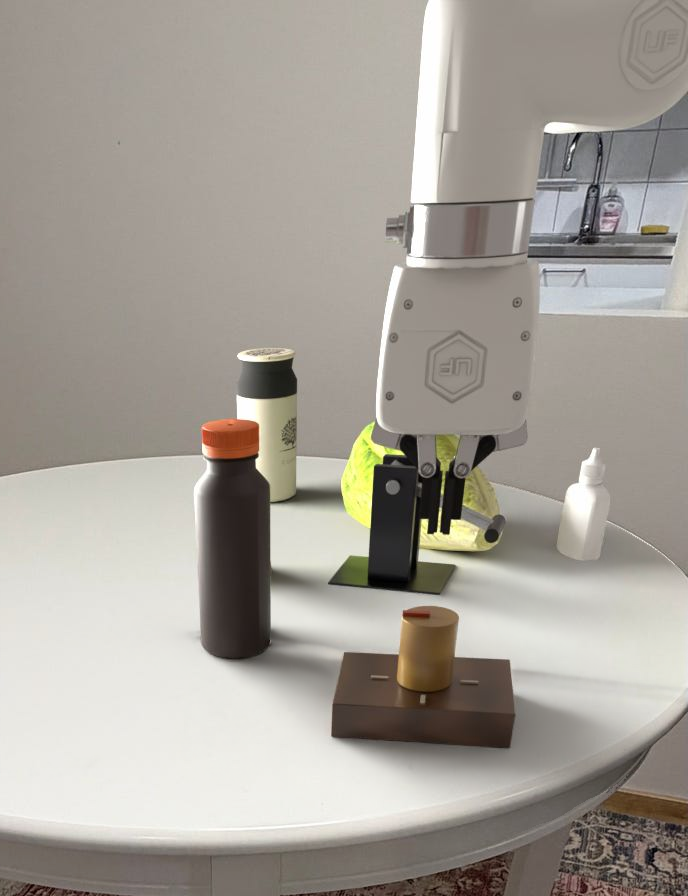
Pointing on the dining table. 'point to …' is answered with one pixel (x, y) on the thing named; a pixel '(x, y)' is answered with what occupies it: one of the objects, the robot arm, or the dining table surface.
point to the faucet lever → (475, 518)
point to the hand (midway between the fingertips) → (438, 528)
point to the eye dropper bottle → (585, 512)
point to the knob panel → (424, 703)
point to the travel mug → (271, 414)
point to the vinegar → (233, 542)
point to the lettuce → (475, 493)
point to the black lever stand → (394, 537)
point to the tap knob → (427, 648)
